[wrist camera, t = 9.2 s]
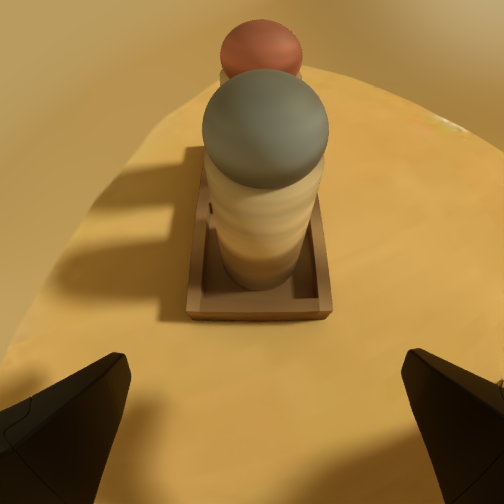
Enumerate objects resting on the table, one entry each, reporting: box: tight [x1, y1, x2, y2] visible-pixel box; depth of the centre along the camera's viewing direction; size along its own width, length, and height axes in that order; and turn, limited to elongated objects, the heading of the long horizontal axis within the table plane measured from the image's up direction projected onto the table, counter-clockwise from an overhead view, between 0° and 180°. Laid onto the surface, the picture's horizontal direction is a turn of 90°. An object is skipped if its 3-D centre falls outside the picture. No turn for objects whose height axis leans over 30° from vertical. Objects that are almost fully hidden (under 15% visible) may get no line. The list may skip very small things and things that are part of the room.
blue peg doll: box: [202, 69, 329, 291], centre depth 14 cm, size 5×5×13 cm
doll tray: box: [186, 162, 333, 321], centre depth 21 cm, size 16×9×2 cm, turn 0°
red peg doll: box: [220, 20, 302, 86], centre depth 17 cm, size 5×5×13 cm
